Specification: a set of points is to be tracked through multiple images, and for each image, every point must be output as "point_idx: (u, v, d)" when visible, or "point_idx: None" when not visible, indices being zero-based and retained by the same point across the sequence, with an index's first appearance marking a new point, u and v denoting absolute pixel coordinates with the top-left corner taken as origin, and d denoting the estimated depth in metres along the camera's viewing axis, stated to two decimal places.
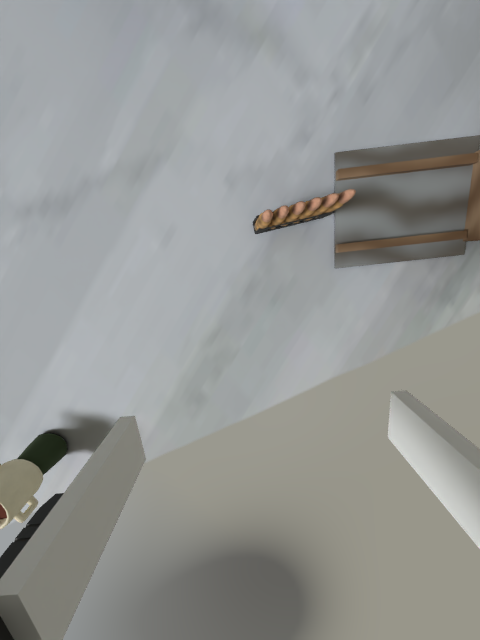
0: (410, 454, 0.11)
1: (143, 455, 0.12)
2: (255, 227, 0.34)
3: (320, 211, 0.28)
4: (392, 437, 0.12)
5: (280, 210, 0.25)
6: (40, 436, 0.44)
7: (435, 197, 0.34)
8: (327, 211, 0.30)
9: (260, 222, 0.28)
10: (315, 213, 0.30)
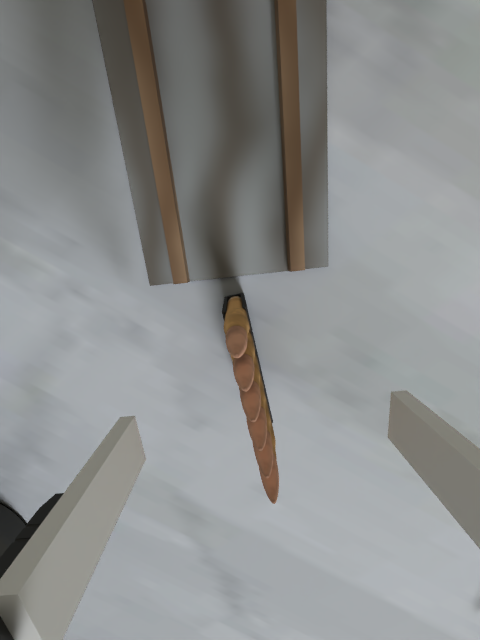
0: (410, 454, 0.11)
1: (143, 455, 0.12)
2: None
3: (254, 355, 0.15)
4: (392, 437, 0.12)
5: None
6: None
7: (208, 76, 0.17)
8: None
9: None
10: None
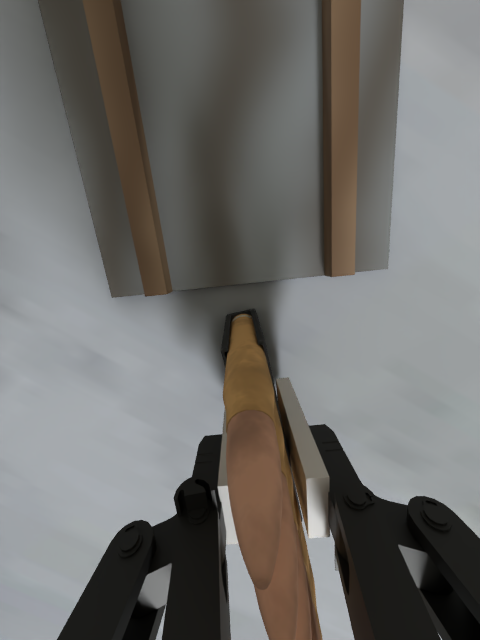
0: (283, 428, 0.13)
1: None
2: None
3: None
4: None
5: None
6: None
7: None
8: None
9: None
10: None
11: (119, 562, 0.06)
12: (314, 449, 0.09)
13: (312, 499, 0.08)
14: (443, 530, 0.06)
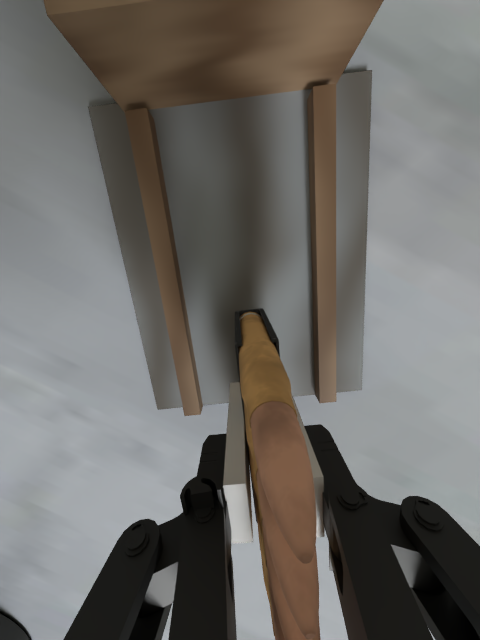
0: None
1: None
2: None
3: None
4: None
5: None
6: None
7: (227, 195, 0.15)
8: None
9: None
10: None
11: (126, 561, 0.06)
12: (309, 449, 0.09)
13: None
14: (435, 530, 0.06)
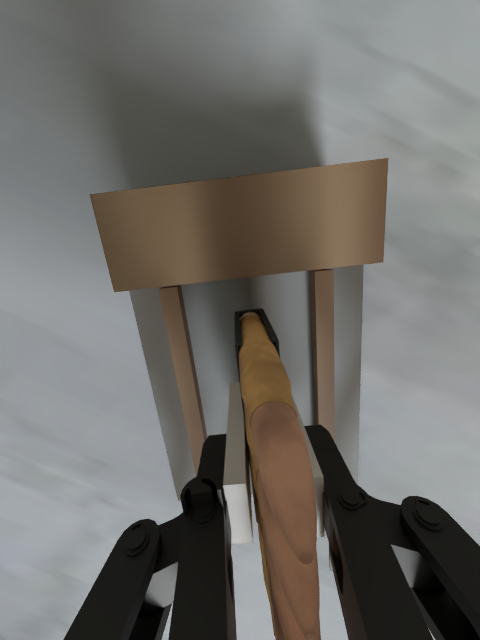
0: None
1: None
2: None
3: None
4: None
5: None
6: None
7: None
8: None
9: None
10: None
11: (126, 560, 0.06)
12: (309, 449, 0.09)
13: None
14: (435, 530, 0.06)
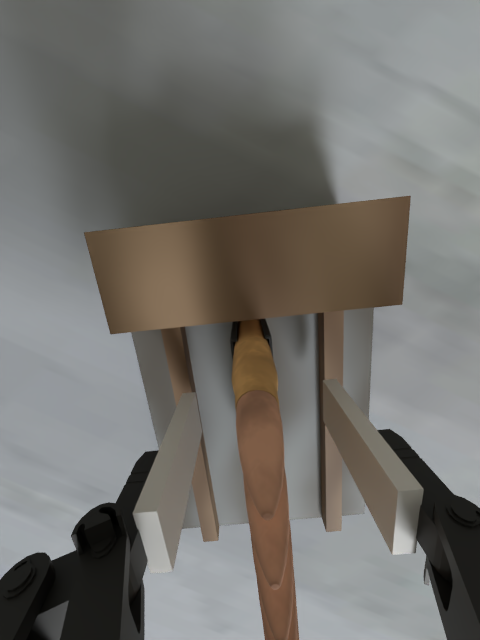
0: (333, 433, 0.12)
1: (200, 428, 0.14)
2: None
3: None
4: (325, 420, 0.14)
5: None
6: None
7: None
8: None
9: None
10: None
11: (4, 604, 0.06)
12: (394, 457, 0.08)
13: (401, 513, 0.07)
14: None
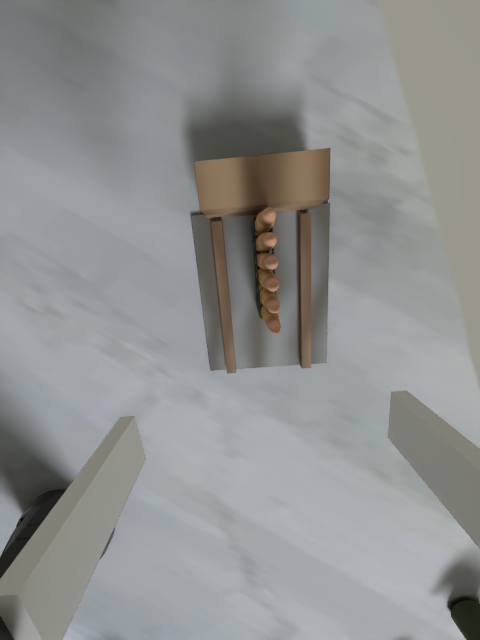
0: (410, 454, 0.11)
1: (143, 455, 0.12)
2: None
3: None
4: (392, 437, 0.12)
5: None
6: (453, 618, 0.45)
7: None
8: None
9: None
10: None
11: None
12: None
13: None
14: None
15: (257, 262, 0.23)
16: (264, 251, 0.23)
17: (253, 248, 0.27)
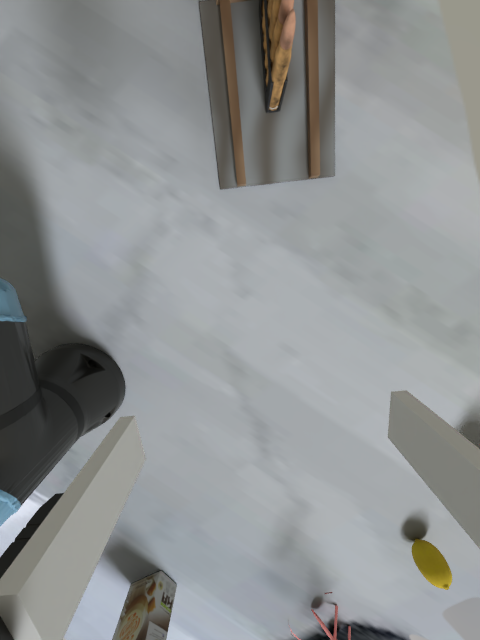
0: (410, 454, 0.11)
1: (143, 455, 0.12)
2: (275, 103, 0.29)
3: None
4: (392, 437, 0.12)
5: (288, 3, 0.20)
6: None
7: None
8: None
9: (287, 61, 0.23)
10: None
11: None
12: None
13: None
14: None
15: (267, 10, 0.24)
16: None
17: (261, 31, 0.28)
